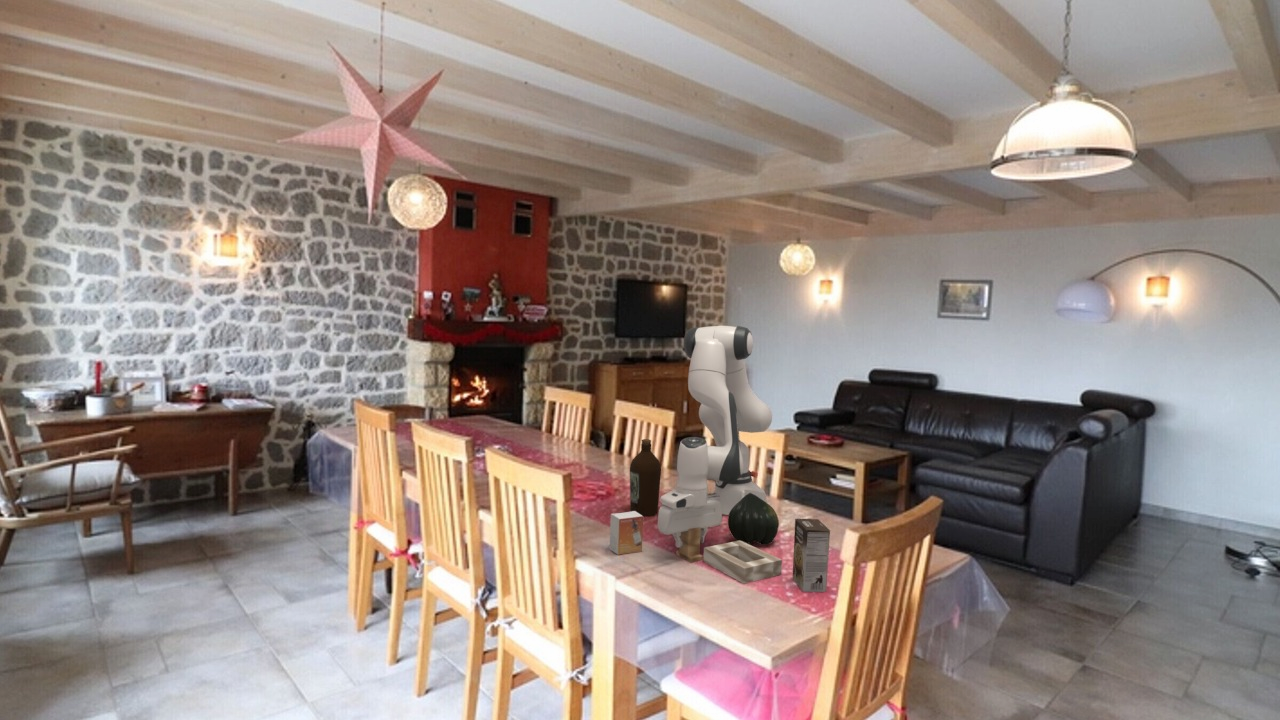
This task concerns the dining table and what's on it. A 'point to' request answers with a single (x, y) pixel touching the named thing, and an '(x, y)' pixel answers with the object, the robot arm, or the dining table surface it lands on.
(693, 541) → the tan wooden block
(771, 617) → the dining table surface
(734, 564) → the rectangular frame
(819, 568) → the coffee box
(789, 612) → the dining table surface
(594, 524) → the dining table surface
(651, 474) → the olive oil
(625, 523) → the small box
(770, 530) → the squash
